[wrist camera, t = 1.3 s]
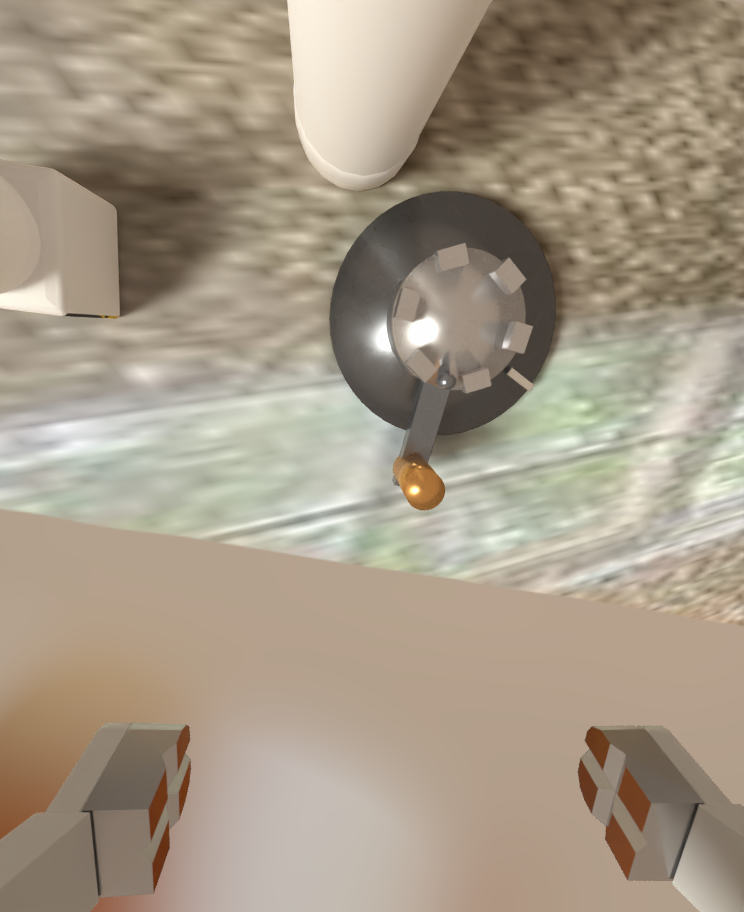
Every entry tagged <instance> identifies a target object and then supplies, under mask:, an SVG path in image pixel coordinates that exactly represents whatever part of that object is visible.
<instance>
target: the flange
mask: <svg viewBox="0 0 744 912" xmlns="http://www.w3.org/2000/svg"><path fill="white" fill-rule="evenodd" d="M463 243H466V248H475V249H479V250H483V251H485V252H487V253H490V254H492V255H493V256H495V257H497V258H498V259H499V260H503V259H505V258H508V257H509V258H510V259H511V260H512V262H513V263H514V264H515V265H516V267H517V268H518V269H519V271H520V272H521V273H522V274H523V276H524V277H525V278H526V280H525V281H524V282H523V283H522V284H521V285H520V288H521V290H522V293H523V297H524V302H525V311H526V316H525V324H527V325H530V326H533V328H532V331H531V334H530V337H529V340H528V343H527V346H526V349H525V352H524V354H522V353H515V355H514V357H513V358H512V359H511V361H510V362H509V364H508V365H507V366H506V367H505V368H504V369H503V370H502V371H501V372H500V373H499V374H498V375H497V376H495V377H494V378H492V379H491V386H489V387H486V388H483V389H479V390H476V391H473V392H469V393H464V392H462V391H461V390H450V392H449V395H448V398H447V401H446V405H445V408H444V411H443V415H442V418H441V421H440V424H439V428H438V431H437V434H436V435H449V434H455V433H461V432H465V431H468V430H471V429H474V428H477V427H479V426H482V425H484V424H486V423H488V422H490V421H492V420H493V419H495V418H496V417H498V416H500V415H501V414H503V413H504V412H505V411H506V410H508V409H509V408H510V407H511V406H513V405H514V404H515V403H516V402H517V401H518V400H519V399H520V397H521V396H522V395H523V394H524V393H525V392H526V390H527V391H529V392H530V391H531V389H532V388H533V387H534V385H533V384H532V383H533V381H534V379H535V378H536V376H537V374H538V373H539V371H540V369H541V367H542V365H543V363H544V361H545V358H546V356H547V353H548V350H549V347H550V344H551V340H552V335H553V331H554V324H555V313H556V308H555V292H554V285H553V279H552V276H551V272H550V269H549V265H548V263H547V261H546V258H545V256H544V253H543V251H542V249H541V248H540V246H539V244H538V243H537V241H536V239H535V238H534V236H533V235H532V234H531V233H530V231H529V230H528V229H527V227H526V226H525V225H524V224H523V223H522V222H521V221H520V220H519V219H518V218H516V217H515V216H514V215H513V214H512V213H510V212H509V211H507V210H506V209H505V208H503V207H502V206H500V205H498V204H496V203H494V202H492V201H490V200H488V199H486V198H482V197H479V196H476V195H473V194H468V193H462V192H435V193H428V194H423V195H420V196H417V197H413V198H410V199H408V200H406V201H403V202H401V203H399V204H397V205H395V206H393V207H392V208H390V209H389V210H387V211H386V212H384V213H383V214H381V215H380V216H379V217H378V218H377V219H375V220H374V221H373V222H372V223H371V224H370V225H369V226H368V227H367V228H366V229H365V230H364V231H363V232H362V234H361V235H360V236H359V237H358V238H357V239H356V241H355V242H354V244H353V245H352V247H351V249H350V250H349V252H348V253H347V255H346V257H345V259H344V261H343V263H342V265H341V268H340V270H339V272H338V275H337V278H336V281H335V284H334V288H333V293H332V298H331V303H330V317H329V320H330V335H331V341H332V346H333V351H334V354H335V357H336V360H337V363H338V365H339V368H340V370H341V372H342V374H343V376H344V378H345V380H346V381H347V383H348V384H349V386H350V388H351V389H352V391H353V392H354V393H355V394H356V396H357V397H358V398H359V399H360V400H361V402H362V403H363V404H364V405H365V406H366V407H368V408H369V409H370V410H371V411H372V412H373V413H374V414H376V415H377V416H379V417H380V418H382V419H383V420H385V421H386V422H388V423H390V424H392V425H394V426H396V427H399V428H402V429H404V430H407V427H408V423H409V420H410V416H411V413H412V409H413V406H414V402H415V399H416V395H417V392H418V388H419V385H420V381H421V380H420V379H418V378H416V377H414V376H413V375H412V374H410V373H409V372H408V371H407V370H406V369H404V368H403V366H402V365H401V364H400V363H399V362H398V360H397V358H396V357H395V355H394V353H393V351H392V349H391V346H390V343H389V340H388V335H387V326H386V321H387V311H388V306H389V303H390V300H391V297H392V295H393V293H394V290H395V289H396V287H397V285H398V284H399V282H400V281H401V280H402V278H403V277H404V276H405V275H406V274H407V273H408V272H409V271H410V270H411V269H412V268H414V267H415V266H417V265H418V264H420V263H421V262H423V261H424V260H426V259H428V258H429V257H431V256H433V253H435V252H436V251H438V250H442V249H445V248H449V247H452V246H456V245H459V244H463Z"/></svg>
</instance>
